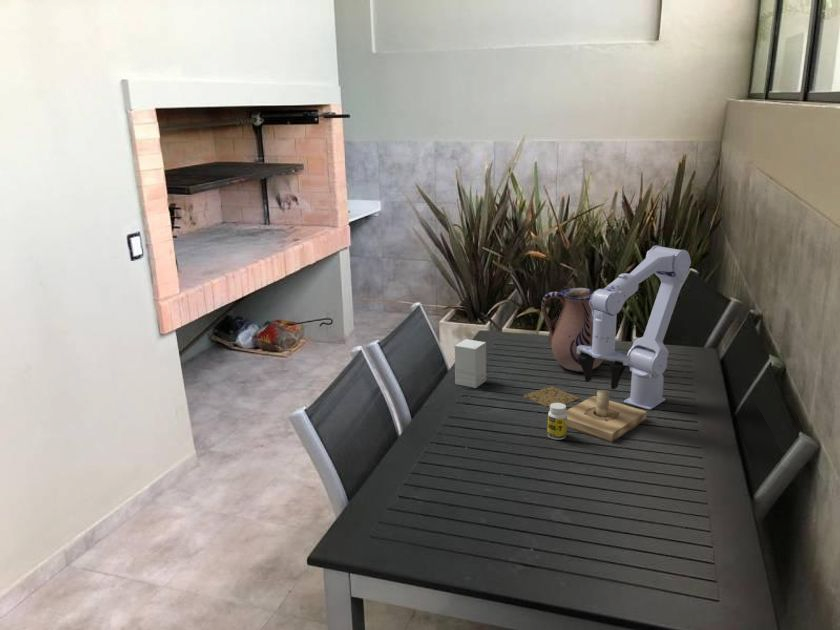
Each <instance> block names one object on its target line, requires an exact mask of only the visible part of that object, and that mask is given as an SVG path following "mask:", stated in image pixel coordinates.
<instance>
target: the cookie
mask: <svg viewBox="0 0 840 630" xmlns="http://www.w3.org/2000/svg"><path fill="white" fill-rule="evenodd" d="M526 397H527V398H526ZM523 398H526V399H529V400H530V401H533V402H535V403H538V404H539V405H542V406H544V407H547V408H548V409H550V405H551V404H552V403H562V404H564V405H566V406H567V405H568V404H572V403H575V402H577V401H580V400H581V399H582V398H580V397H578V396H576V395H573V394H572V393H568V392H566V391H563V390H562V389H559V388H557V387H554V386H547V387H544V388H542V389H538V390H535V391H532V392H528V393H526V394H524V395H523Z"/></svg>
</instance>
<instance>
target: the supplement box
mask: <svg viewBox="0 0 840 630" xmlns="http://www.w3.org/2000/svg"><path fill="white" fill-rule="evenodd" d="M454 376H455V377H454V383H455V385H457V386H463V387H468V388H472V389H473V388H474V389H476V388H478V387H480V386H481V385H482V384H484V383H485V382H486V381H487V342H486V341H479V340H475V339H474V340H473V339H468V338H465V339H463V340H461V341H460V342H458V343H457V344H455V345H454Z"/></svg>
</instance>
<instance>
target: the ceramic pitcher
mask: <svg viewBox="0 0 840 630" xmlns="http://www.w3.org/2000/svg"><path fill="white" fill-rule="evenodd" d="M594 292H595V291H593V292H592V290H591V289H590V288H585V287H576V288H574V287H573V288H566V289H564V290H562V291H551V292H548V293H546V294H544V296H543V297H542V300H541V313H542V315H543V319H544V322H545V325H546V326H547V329H548V332H549V333H548V341H549V344H550V346H551V351H552V355H553V357H554V359H555V360H556V362H557V363H558V364H559V365H560V366H562V367H563V368H564V369H566V370H568V371H572V372H577V373H579V372H582V373H584V372H583V369H582V366H581V364H580V362H579V361H578V357H579V356H580V354H578V353H577V346H579V345H584V346H592V338H593V318H594V317H593V316H592V309H591V308H590V305H589V300H590V299H591V296H592V294H593V293H594ZM554 298H555V299H558V300H560V303H561V305H562V308H561V311H560V313H559V316H558V318H557V320H556V322H555V323H554V324H552V321H551V319H550V317H549V315H548V312H547V303H548V302H549V300H550V299H554ZM604 361H605V359H602V358H594V363H593V370H594V369H596V368H598V367H599V366H600V365H601V364H602V363H603V362H604Z"/></svg>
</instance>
